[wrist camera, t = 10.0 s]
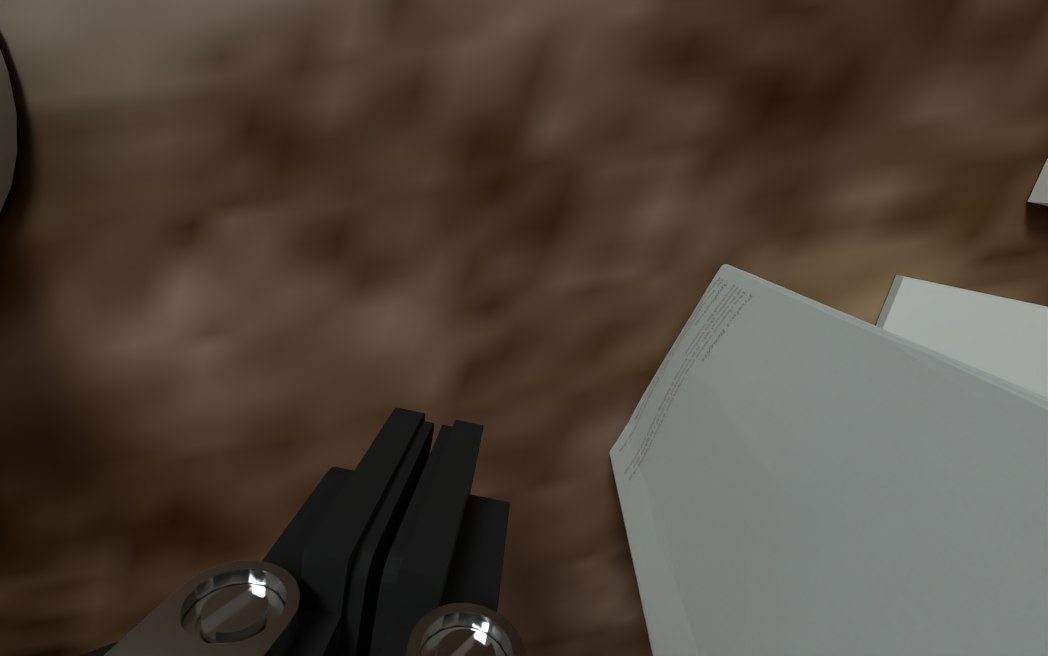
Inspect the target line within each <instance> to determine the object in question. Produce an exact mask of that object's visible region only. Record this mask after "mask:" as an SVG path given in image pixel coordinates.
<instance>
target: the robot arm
mask: <svg viewBox="0 0 1048 656" xmlns="http://www.w3.org/2000/svg"><path fill="white" fill-rule="evenodd" d="M16 156H17V119H16V109H15V104H14V98H13V93H12V88H11V83H10V78H9V73H8V70H7V67H6V64H5V62H4V59H3V56H2V53H1V51H0V212H1V210H2V207H3V205H4V202H5V200H6V197H7V195H8V193H9V190H10V188H11V184H12V179H13V173H14V167H15V161H16ZM483 426H484V425H479V424H474V423H469V422H464V421H459V420H455V422H454V424H453V427H451V426H446V425H442V427H441V430H440V432H439V434H438V437H437V439H436V441H435V444H434V446H433V449H432V451H431V453H430V449H431V443H432V437H433V431H434V423H431V422H426V421H425V413H420V412H416V411H411V410H406V409H401V408H395V409H394V410H393V412H392V414H391V415H390V417H389V418H388V420H387V421H386V423H385V424H384V426H383V428H382V429H381V431H380V432H379V434H378V435H377V437H376V438H375V440H374V441H373V443H372V445H371V446H370V448H369V449H368V451H367V452H366V454H365V455H364V457H363V458H362V460H361V462H360V463H359V465H358V466H357V468H356V469H355V471H353V470H348V469H343V468H338V467H332V468H331V469H330V470H329V471H328V472H327V473H326V475H325V476H324V477H323V479H322V480H321V481H320V483H319V484H318V485H317V487H316V488H315V490H314V491H313V492H312V494H311V495H310V496H309V498H308V499H307V501H306V502H305V503H304V505H303V506H302V507H301V509H300V510H299V511H298V513H297V514H296V516H295V517H294V518H293V520H292V521H291V522H290V524H289V525H288V526H287V528H286V529H285V531H284V532H283V533H282V535H281V536H280V537H279V539H278V540H277V541H276V543H275V544H274V546H273V547H272V548H271V550H270V551H269V552H268V554H267V555H266V556H265V558H264V559H263V561H258V560H250V561H235V562H230V563H226V564H222V565H218V566H215V567H213V568H211V569H208V570H206V571H204V572H202V573H199V574H198V575H196V576H195V577H194V578H192V579H191V580H189V581H188V582H186V583H185V584H184V585H182V586H181V587H180V588H179V589H178V590H177V591H176V592H174V593H173V594H172V595H171V596H170V597H169V598H168V599H167V600H165V601H164V602H163V603H162V604H161V605H160V606H159V607H158V608H156V609H155V610H154V611H153V612H152V613H151V614H150V615H148V616H147V617H146V618H145V619H144V620H143V621H142V622H141V623H139V624H138V625H137V626H136V627H135V628H134V629H133V630H132V631H130V632H129V633H128V634H127V635H126V636H125V637H124V638H123V639H121V640H120V641H119V642H116V643H113V644H110V645H108V646H105V647H102V648H99V649H97V650H94V651H91V652H89V653H86V654H83V655H80V656H526V654H525V650H524V647H523V643H522V640H521V637H520V636H519V634H518V633H517V631H516V630H515V628H514V627H513V625H512V624H511V623H510V622H508V621H507V620H506V619H505V618H504V617H503V616H501V615H500V614H499V613H497V607H498V599H499V590H500V582H501V574H502V565H503V557H504V549H505V540H506V532H507V524H508V515H509V506H510V503H509V502H505V501H500V500H495V499H490V498H485V497H480V496H475V495H470V492H471V487H472V482H473V477H474V472H475V467H476V462H477V457H478V452H479V447H480V442H481V437H482V432H483ZM429 455H430V456H429Z"/></svg>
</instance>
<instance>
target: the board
mask: <svg viewBox="0 0 1048 656" xmlns="http://www.w3.org/2000/svg"><path fill="white" fill-rule="evenodd" d="M1027 202H1032V203H1036V204H1041V205H1046V206H1048V158H1047V160H1046V163H1045V165H1044V167H1043V169H1042V171H1041V173H1040V175H1039V178H1038V180H1037V182H1036V184H1035V186H1034V188H1033V191H1032V193H1031V195H1030V197H1029V199H1028V201H1027Z"/></svg>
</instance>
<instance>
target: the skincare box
mask: <svg viewBox="0 0 1048 656" xmlns="http://www.w3.org/2000/svg"><path fill="white" fill-rule="evenodd" d="M609 454H610V458H611V463H612V468H613V473H614V477H615V482H616V486H617V491H618V496H619V500H620V505H621V510H622V514H623V518H624V523H625V528H626V533H627V537H628V542H629V547H630V551H631V556H632V560H633V565H634V569H635V574H636V578H637V583H638V587H639V592H640V597H641V603H642V608H643V612H644V616H645V621H646V626H647V631H648V636H649V641H650V645H651V650H652V655H653V656H1048V398H1047V397H1045V396H1042V395H1040V394H1037V393H1035V392H1033V391H1030V390H1028V389H1025V388H1023V387H1021V386H1018V385H1016V384H1013V383H1011V382H1009V381H1006V380H1004V379H1001V378H999V377H997V376H994V375H992V374H989V373H987V372H985V371H982V370H980V369H977V368H975V367H973V366H970V365H968V364H965V363H963V362H961V361H958V360H956V359H954V358H951V357H949V356H946V355H944V354H942V353H939V352H937V351H934V350H932V349H930V348H927V347H925V346H922V345H920V344H918V343H915V342H913V341H910V340H908V339H906V338H903V337H901V336H898V335H896V334H894V333H891V332H889V331H886V330H884V329H882V328H879V327H877V326H874V325H872V324H870V323H867V322H865V321H862V320H860V319H858V318H855V317H853V316H850V315H848V314H845V313H843V312H841V311H838V310H836V309H833V308H831V307H829V306H826V305H824V304H821V303H819V302H817V301H814V300H812V299H809V298H807V297H805V296H802V295H800V294H797V293H795V292H793V291H790V290H788V289H785V288H783V287H781V286H778V285H776V284H774V283H771V282H769V281H766V280H764V279H762V278H759V277H757V276H755V275H752V274H750V273H747V272H745V271H742V270H740V269H737V268H735V267H732V266H730V265H727V264H724V265H722V266H721V268H720V269H719V271H718V272H717V274H716V275H715V277H714V278H713V280H712V282H711V283H710V285H709V286H708V288H707V290H706V291H705V293H704V295H703V296H702V298H701V300H700V301H699V303H698V305H697V306H696V308H695V310H694V311H693V313H692V315H691V316H690V318H689V320H688V321H687V323H686V324H685V326H684V328H683V329H682V331H681V333H680V334H679V336H678V338H677V339H676V341H675V343H674V344H673V346H672V347H671V349H670V351H669V352H668V354H667V356H666V357H665V359H664V361H663V362H662V364H661V366H660V367H659V369H658V371H657V372H656V374H655V376H654V378H653V379H652V381H651V383H650V384H649V386H648V388H647V389H646V391H645V393H644V394H643V396H642V398H641V400H640V401H639V403H638V405H637V407H636V409H635V411H634V412H633V414H632V416H631V418H630V420H629V422H628V424H627V426H626V427H625V429H624V430H623V432H622V433H621V435H620V436H619V438H618V439H617V441H616V443H615V444H614V446H613V447H612V449H611V450H610V453H609Z"/></svg>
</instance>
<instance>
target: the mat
mask: <svg viewBox="0 0 1048 656" xmlns="http://www.w3.org/2000/svg"><path fill="white" fill-rule="evenodd" d="M875 326H877V327H879V328H882V329H884V330H886V331H889V332H891V333H894V334H896V335H898V336H901V337H903V338H906V339H908V340H910V341H913V342H915V343H918V344H920V345H922V346H925V347H927V348H930V349H932V350H934V351H937V352H939V353H942V354H944V355H946V356H949V357H951V358H954V359H956V360H958V361H961V362H963V363H965V364H968V365H970V366H973V367H975V368H977V369H980V370H982V371H985V372H987V373H989V374H992V375H994V376H997V377H999V378H1001V379H1004V380H1006V381H1009V382H1011V383H1013V384H1016V385H1018V386H1021V387H1023V388H1025V389H1028V390H1030V391H1033V392H1035V393H1037V394H1040V395H1042V396H1045V397H1047V398H1048V307H1047V306H1042V305H1037V304H1032V303H1028V302H1023V301H1018V300H1013V299H1009V298H1004V297H999V296H994V295H990V294H985V293H980V292H976V291H971V290H966V289H961V288H957V287H952V286H947V285H942V284H938V283H933V282H928V281H923V280H919V279H914V278H909V277H904V276H900V275H896V277H895V279H894V281H893V284H892V286H891V289H890V291H889V294H888V296H887V299H886V301H885V303H884V306H883V308H882V311H881V313H880V316H879V318H878V320H877V323H876V325H875Z"/></svg>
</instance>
